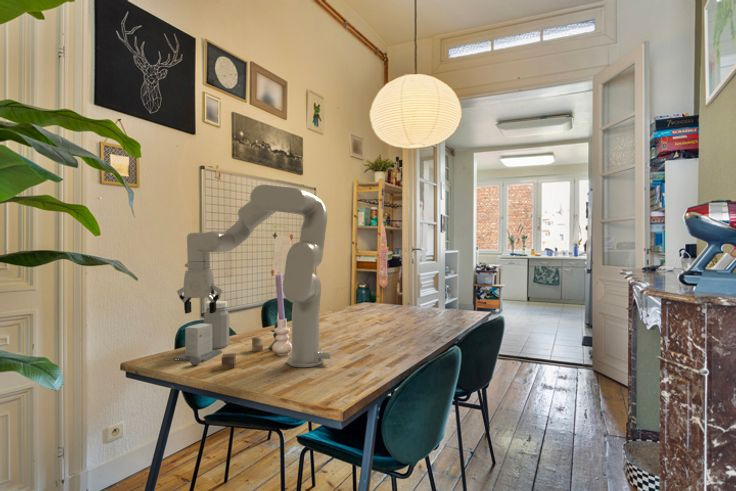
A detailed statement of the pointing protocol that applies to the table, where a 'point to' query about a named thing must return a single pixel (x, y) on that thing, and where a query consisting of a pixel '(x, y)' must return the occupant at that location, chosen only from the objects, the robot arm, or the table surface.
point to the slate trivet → (203, 357)
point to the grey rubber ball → (195, 359)
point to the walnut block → (228, 361)
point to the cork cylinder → (257, 344)
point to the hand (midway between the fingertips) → (200, 312)
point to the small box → (198, 339)
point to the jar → (218, 324)
